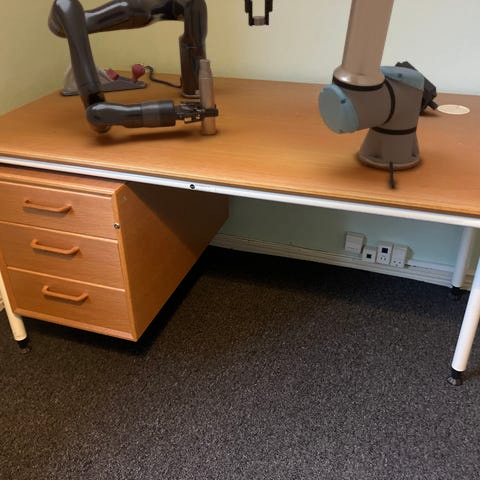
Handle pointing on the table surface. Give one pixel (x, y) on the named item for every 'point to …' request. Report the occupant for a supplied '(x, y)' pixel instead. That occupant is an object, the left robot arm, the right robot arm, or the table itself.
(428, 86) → the tool
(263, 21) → the cap
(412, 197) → the table surface
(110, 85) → the hand plane
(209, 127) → the bottle
